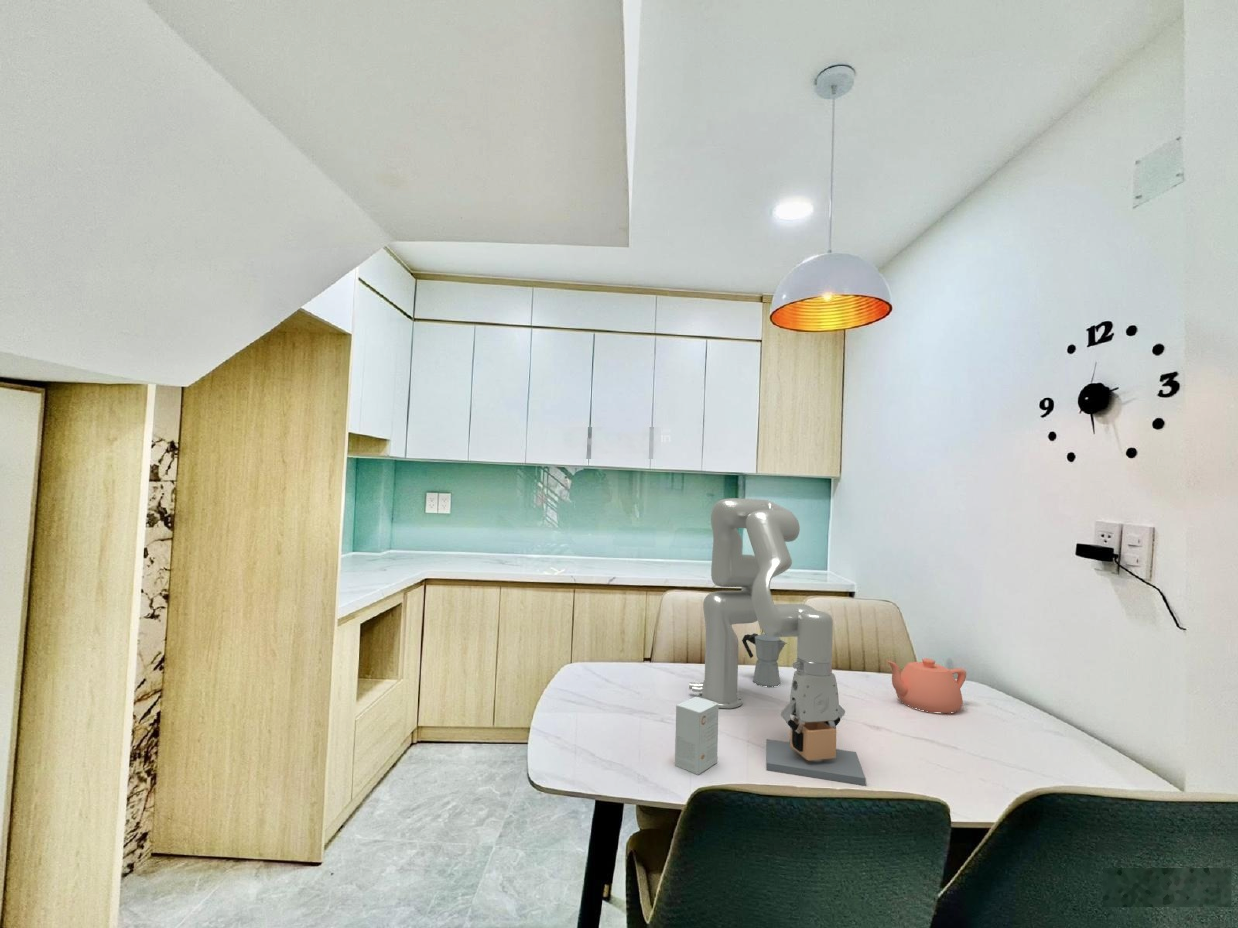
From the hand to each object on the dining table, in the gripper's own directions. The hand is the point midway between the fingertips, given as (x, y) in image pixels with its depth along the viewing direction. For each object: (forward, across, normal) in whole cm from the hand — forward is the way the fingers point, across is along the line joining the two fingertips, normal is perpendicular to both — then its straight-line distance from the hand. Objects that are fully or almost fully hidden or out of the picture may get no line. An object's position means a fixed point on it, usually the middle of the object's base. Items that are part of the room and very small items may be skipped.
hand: (812, 747), depth 126 cm
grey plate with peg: (+4, 0, 0) cm, 4 cm away
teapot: (+4, +58, +28) cm, 64 cm away
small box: (+4, -26, +5) cm, 27 cm away
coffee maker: (+4, +18, +54) cm, 57 cm away
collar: (+1, 0, 0) cm, 1 cm away
